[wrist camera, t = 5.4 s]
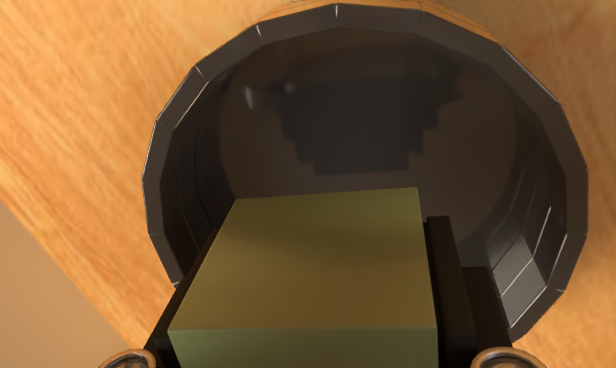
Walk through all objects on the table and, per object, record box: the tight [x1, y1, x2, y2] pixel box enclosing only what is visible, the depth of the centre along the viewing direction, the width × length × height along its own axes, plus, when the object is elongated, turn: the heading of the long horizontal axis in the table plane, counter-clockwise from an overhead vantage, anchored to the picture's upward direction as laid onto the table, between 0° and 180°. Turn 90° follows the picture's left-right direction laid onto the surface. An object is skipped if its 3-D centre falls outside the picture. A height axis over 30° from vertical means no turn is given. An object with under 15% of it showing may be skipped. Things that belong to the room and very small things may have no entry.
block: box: [168, 187, 439, 368], centre depth 11 cm, size 4×4×4 cm
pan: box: [142, 0, 588, 343], centre depth 16 cm, size 13×13×4 cm
